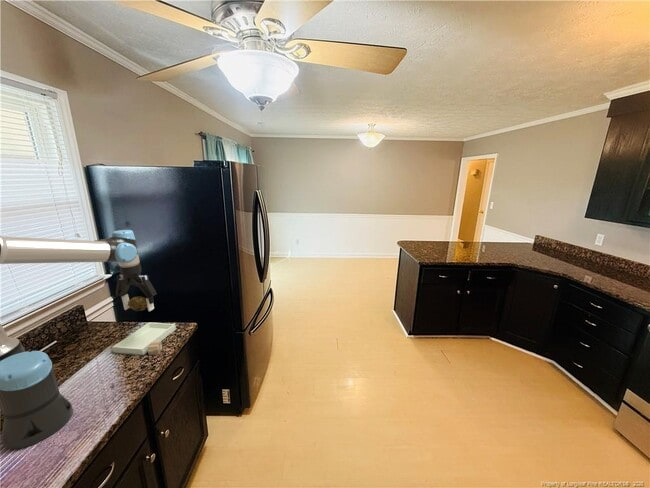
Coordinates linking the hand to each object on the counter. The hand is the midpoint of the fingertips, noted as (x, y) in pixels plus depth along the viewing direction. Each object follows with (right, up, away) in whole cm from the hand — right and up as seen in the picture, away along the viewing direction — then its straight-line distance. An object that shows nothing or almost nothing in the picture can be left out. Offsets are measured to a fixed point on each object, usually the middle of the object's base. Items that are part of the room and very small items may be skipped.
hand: (139, 309), depth 122 cm
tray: (0, -16, +5) cm, 17 cm away
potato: (0, -1, 0) cm, 1 cm away
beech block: (+10, -18, -4) cm, 21 cm away
